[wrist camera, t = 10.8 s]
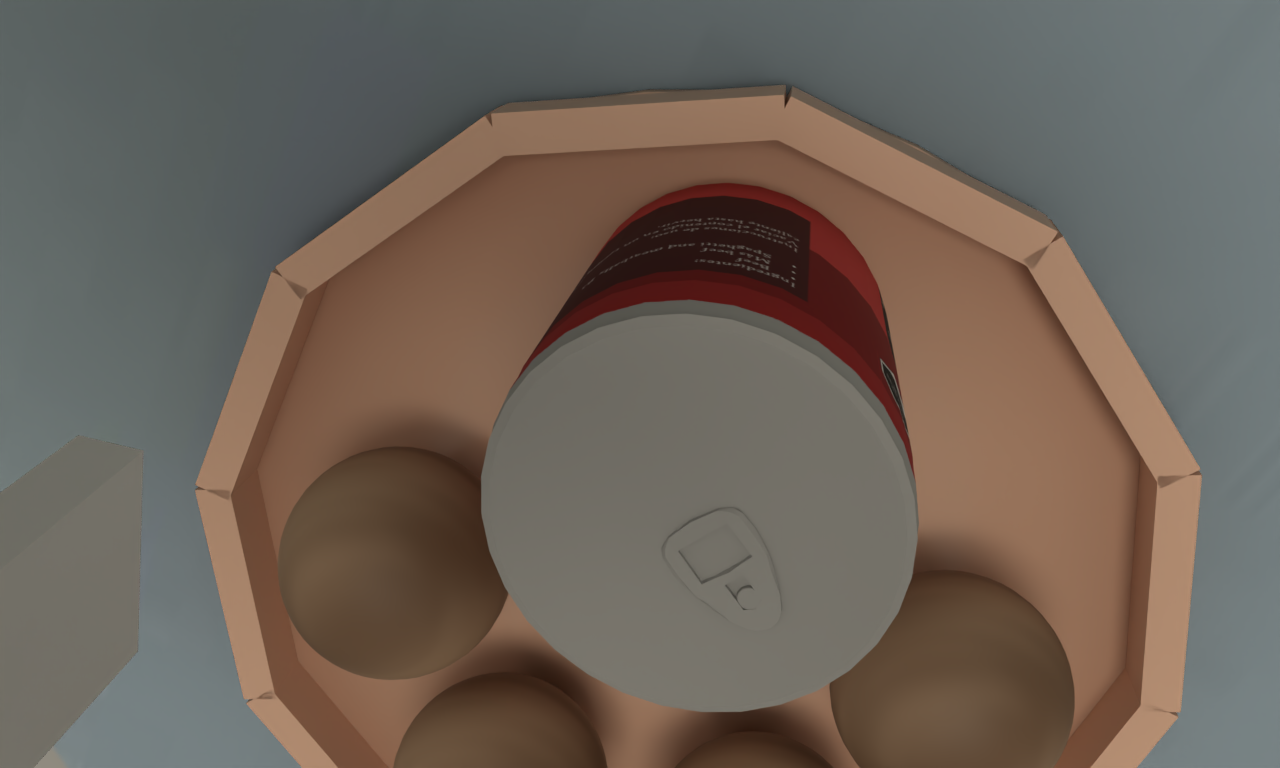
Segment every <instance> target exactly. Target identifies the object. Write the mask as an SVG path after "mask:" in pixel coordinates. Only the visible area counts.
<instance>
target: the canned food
mask: <svg viewBox="0 0 1280 768" xmlns="http://www.w3.org/2000/svg"><path fill="white" fill-rule="evenodd" d="M481 514H482V519H483V524H484V528H485V533H486V538H487V542H488V547H489V552H490V554H491V556H492V559H493V561H494V563H495V566H496V568H497V570H498V573H499V575H500V577H501V580H502V582H503V584H504V587H505V588H506V590H507V591H508V593H509V594H510V596H511V597H512V599H513V600H514V602H515V603H516V605H517V606H518V608H519V609H520V611H521V612H522V614H523V615H524V617H525V618H526V620H527V621H528V622H529V623H530V624H531V625H532V626H533V627H534V628H535V630H536V631H537V632H538V633H539V634H540V635H541V636H542V637H543V638H544V639H545V640H546V641H547V642H548V643H549V644H550V645H551V646H552V647H553V648H554V649H555V650H556V651H557V652H558V653H560V654H561V655H563V656H564V657H565V658H567V659H568V660H569V661H571V662H572V663H573V664H575V665H576V666H577V667H579V668H580V669H581V670H583V671H584V672H585V673H587V674H588V675H590V676H592V677H594V678H596V679H598V680H600V681H602V682H604V683H605V684H607V685H609V686H611V687H613V688H615V689H617V690H619V691H621V692H623V693H625V694H628V695H631V696H634V697H637V698H640V699H643V700H646V701H649V702H652V703H655V704H658V705H661V706H667V707H673V708H680V709H686V710H692V711H698V712H743V711H749V710H754V709H760V708H765V707H771V706H776V705H781V704H784V703H786V702H789V701H792V700H794V699H797V698H800V697H802V696H805V695H807V694H810V693H813V692H815V691H818V690H819V689H821V688H822V687H824V686H826V685H827V684H829V683H830V682H832V681H834V680H835V679H837V678H838V677H840V676H842V675H843V674H845V673H847V672H848V671H850V670H851V669H852V668H853V667H854V666H855V665H856V664H857V663H858V662H859V661H860V660H861V659H862V658H863V657H864V656H865V655H866V654H867V653H869V652H870V651H871V650H872V649H873V648H874V647H875V646H876V645H877V644H878V642H879V641H880V639H881V638H882V636H883V635H884V633H885V632H886V630H887V629H888V627H889V626H890V624H891V623H892V621H893V620H894V618H895V617H896V615H897V614H898V612H899V610H900V607H901V604H902V602H903V599H904V597H905V594H906V592H907V589H908V586H909V584H910V581H911V579H912V574H913V567H914V560H915V554H916V547H917V540H918V536H917V534H918V527H919V517H918V504H917V491H916V481H915V475H914V467H913V456H912V450H911V445H910V439H909V434H908V428H907V423H906V417H905V412H904V407H903V401H902V396H901V390H900V385H899V379H898V374H897V368H896V363H895V357H894V352H893V346H892V341H891V336H890V330H889V325H888V319H887V314H886V310H885V307H884V304H883V300H882V297H881V293H880V290H879V287H878V284H877V282H876V280H875V278H874V276H873V274H872V273H871V271H870V269H869V267H868V265H867V263H866V261H865V259H864V257H863V256H862V255H861V254H860V252H859V251H858V250H857V249H856V247H855V246H854V245H853V244H852V243H851V241H850V240H849V239H848V238H847V236H846V235H845V234H844V233H843V232H842V231H841V230H840V229H839V228H837V227H836V226H835V225H834V224H833V223H831V222H830V221H829V220H828V219H827V218H825V217H824V216H823V215H822V214H821V213H819V212H818V211H816V210H814V209H813V208H811V207H809V206H807V205H805V204H804V203H802V202H800V201H798V200H796V199H794V198H793V197H791V196H788V195H785V194H782V193H779V192H776V191H772V190H769V189H766V188H763V187H760V186H752V185H744V184H735V183H718V184H705V185H696V186H692V187H689V188H685V189H682V190H678V191H675V192H672V193H668V194H666V195H664V196H662V197H660V198H658V199H657V200H655V201H653V202H651V203H649V204H647V205H645V206H643V207H642V208H640V209H639V210H638V211H636V212H635V213H634V214H633V215H632V216H631V217H629V218H628V219H627V220H626V221H625V222H623V223H622V224H621V225H620V226H619V227H618V228H617V229H616V230H615V232H614V233H613V234H612V236H611V237H610V238H609V239H608V241H607V242H606V243H605V245H604V246H603V247H602V249H601V250H600V251H599V253H598V254H597V256H596V257H595V259H594V260H593V262H592V263H591V265H590V266H589V268H588V269H587V271H586V272H585V274H584V275H583V277H582V279H581V280H580V282H579V283H578V285H577V286H576V288H575V289H574V291H573V292H572V294H571V295H570V297H569V298H568V300H567V301H566V303H565V304H564V306H563V307H562V309H561V310H560V312H559V313H558V315H557V316H556V318H555V319H554V321H553V322H552V324H551V325H550V327H549V328H548V330H547V331H546V333H545V334H544V336H543V337H542V339H541V340H540V342H539V343H538V345H537V346H536V348H535V349H534V351H533V352H532V354H531V355H530V357H529V358H528V360H527V362H526V363H525V365H524V366H523V368H522V370H521V372H520V374H519V376H518V378H517V379H516V381H515V382H514V384H513V385H512V387H511V388H510V390H509V392H508V395H507V397H506V399H505V401H504V403H503V405H502V408H501V410H500V412H499V414H498V416H497V418H496V420H495V423H494V425H493V430H492V433H491V435H490V438H489V442H488V446H487V451H486V456H485V460H484V465H483V470H482V474H481Z"/></svg>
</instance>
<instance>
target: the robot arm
mask: <svg viewBox="0 0 1280 768" xmlns="http://www.w3.org/2000/svg"><path fill="white" fill-rule="evenodd" d="M142 481H143V450H138V449H134V448H130V447H126V446H122V445H117V444H113V443H109V442H105V441H100V440H96V439H92V438H88V437H84V436H79V435H78V436H77V437H75V438H74V439H73V440H71V441H70V442H68V443H67V444H66V445H64V446H63V447H62V448H60V449H59V450H58V451H56V452H55V453H54V454H52V455H51V456H49V457H48V458H47V459H45V460H44V461H43V462H41V463H40V464H39V465H37V466H36V467H35V468H33V469H32V470H30V471H29V472H28V473H26V474H25V475H24V476H22V477H21V478H20V479H18V480H17V481H16V482H14V483H13V484H11V485H10V486H9V487H7V488H6V489H5V490H3V491H2V492H1V493H0V768H34V767H35V766H36V765H37V764H38V762H39V761H40V760H41V759H42V758H43V757H44V756H45V755H46V753H47V752H48V751H49V750H50V749H51V748H52V747H53V746H54V745H55V743H56V742H57V741H58V740H59V739H60V738H61V737H62V736H63V734H64V733H65V732H66V731H67V730H68V729H69V728H70V727H71V726H72V724H73V723H74V722H75V721H76V720H77V719H78V718H79V717H80V715H81V714H82V713H83V712H84V711H85V710H86V709H87V708H88V706H89V705H90V704H91V703H92V702H93V701H94V700H95V699H96V698H97V696H98V695H99V694H100V693H101V692H102V691H103V690H104V689H105V687H106V686H107V685H108V684H109V683H110V682H111V681H112V680H113V679H114V677H115V676H116V675H117V674H118V673H119V672H120V671H121V670H122V668H123V667H124V666H125V665H126V664H127V663H128V662H129V661H130V660H131V658H132V657H133V656H134V655H135V654H136V653H137V652H138V629H139V592H140V555H141V518H142Z"/></svg>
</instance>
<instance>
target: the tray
mask: <svg viewBox="0 0 1280 768" xmlns="http://www.w3.org/2000/svg"><path fill="white" fill-rule="evenodd" d="M718 183H735V184H744V185H752V186H760V187H763V188H766V189H769V190H772V191H776V192H779V193H782V194H785V195H788V196H791V197H793V198H794V199H796V200H798V201H800V202H802V203H804V204H805V205H807V206H809V207H811V208H813V209H814V210H816V211H818V212H819V213H821V214H822V215H823V216H824V217H825V218H827V219H828V220H829V221H830V222H831V223H833V224H834V225H835V226H836V227H837V228H839V229H840V230H841V231H842V232H843V233H844V234H845V235H846V236H847V238H848V239H849V240H850V241H851V243H852V244H853V245H854V246H855V247H856V249H857V250H858V251H859V252H860V254H861V255H862V256H863V257H864V259H865V261H866V263H867V265H868V267H869V269H870V271H871V273H872V274H873V276H874V278H875V280H876V282H877V284H878V287H879V290H880V293H881V297H882V300H883V304H884V307H885V310H886V314H887V319H888V325H889V330H890V336H891V341H892V346H893V352H894V357H895V363H896V368H897V374H898V379H899V385H900V390H901V396H902V401H903V407H904V412H905V417H906V423H907V428H908V434H909V439H910V445H911V450H912V456H913V467H914V475H915V481H916V491H917V504H918V517H919V527H918V534H917V536H918V540H917V547H916V554H915V560H914V567H913V574H916V573H920V572H926V571H934V570H956V571H963V572H969V573H974V574H977V575H980V576H984V577H987V578H990V579H992V580H994V581H997V582H999V583H1002V584H1003V585H1005V586H1007V587H1009V588H1010V589H1012V590H1014V591H1015V592H1017V593H1018V594H1019V595H1020V596H1022V597H1023V598H1024V599H1026V600H1027V601H1028V602H1030V603H1031V604H1032V605H1033V606H1034V607H1035V608H1036V609H1037V610H1038V611H1039V612H1040V613H1041V614H1042V615H1043V617H1044V618H1045V619H1046V621H1047V622H1048V623H1049V625H1050V626H1051V627H1052V628H1053V630H1054V631H1055V633H1056V635H1057V637H1058V638H1059V640H1060V642H1061V644H1062V646H1063V648H1064V650H1065V653H1066V656H1067V658H1068V661H1069V664H1070V668H1071V673H1072V678H1073V683H1074V693H1075V710H1074V718H1073V724H1072V728H1071V731H1070V735H1069V738H1068V741H1067V744H1066V746H1065V748H1064V751H1063V753H1062V755H1061V757H1060V758H1059V760H1058V762H1057V763H1056V765H1055V766H1054V768H1137V766H1138V765H1139V764H1140V763H1141V762H1142V760H1143V759H1144V758H1145V757H1146V756H1147V754H1148V753H1149V752H1150V751H1151V750H1152V748H1153V747H1154V746H1155V745H1156V744H1157V742H1158V741H1159V740H1160V739H1161V737H1162V736H1163V735H1164V734H1165V733H1166V731H1167V730H1168V729H1169V728H1170V727H1171V725H1172V724H1173V723H1174V722H1175V721H1176V719H1177V718H1178V715H1177V713H1176V712H1181V701H1182V690H1183V679H1184V668H1185V657H1186V646H1187V635H1188V624H1189V613H1190V602H1191V591H1192V580H1193V569H1194V558H1195V546H1196V535H1197V524H1198V513H1199V502H1200V491H1201V480H1202V475H1201V473H1200V472H1199V470H1200V467H1199V466H1198V464H1197V462H1196V461H1195V459H1194V457H1193V456H1192V454H1191V452H1190V450H1189V449H1188V447H1187V445H1186V444H1185V442H1184V440H1183V439H1182V437H1181V435H1180V434H1179V432H1178V430H1177V428H1176V427H1175V425H1174V423H1173V422H1172V420H1171V418H1170V417H1169V415H1168V413H1167V412H1166V410H1165V408H1164V406H1163V405H1162V403H1161V401H1160V400H1159V398H1158V396H1157V395H1156V393H1155V391H1154V390H1153V388H1152V386H1151V384H1150V383H1149V381H1148V379H1147V378H1146V376H1145V374H1144V373H1143V371H1142V369H1141V368H1140V366H1139V364H1138V362H1137V361H1136V359H1135V357H1134V356H1133V354H1132V352H1131V351H1130V349H1129V347H1128V346H1127V344H1126V342H1125V340H1124V339H1123V337H1122V335H1121V334H1120V332H1119V330H1118V329H1117V327H1116V325H1115V323H1114V322H1113V320H1112V318H1111V317H1110V315H1109V313H1108V312H1107V310H1106V308H1105V307H1104V305H1103V303H1102V301H1101V300H1100V298H1099V296H1098V295H1097V293H1096V291H1095V290H1094V288H1093V286H1092V285H1091V283H1090V281H1089V279H1088V278H1087V276H1086V274H1085V273H1084V271H1083V269H1082V268H1081V266H1080V264H1079V263H1078V261H1077V259H1076V257H1075V256H1074V254H1073V252H1072V251H1071V249H1070V247H1069V246H1068V244H1067V242H1066V241H1065V239H1064V237H1063V236H1062V234H1061V233H1060V232H1059V230H1058V229H1057V228H1056V226H1055V225H1054V224H1053V222H1052V221H1051V220H1050V219H1048V218H1047V216H1046V215H1045V214H1043V213H1041V212H1039V211H1037V210H1035V209H1034V208H1032V207H1030V206H1028V205H1026V204H1024V203H1022V202H1020V201H1018V200H1016V199H1014V198H1012V197H1010V196H1008V195H1006V194H1004V193H1002V192H1000V191H998V190H996V189H994V188H992V187H990V186H988V185H986V184H984V183H982V182H980V181H978V180H976V179H974V178H972V177H971V176H969V175H967V174H965V173H964V172H962V171H960V170H959V169H957V168H955V167H954V166H952V165H950V164H949V163H947V162H945V161H944V160H942V159H940V158H939V157H937V156H935V155H934V154H932V153H930V152H929V151H927V150H925V149H924V148H922V147H920V146H919V145H917V144H914V143H912V142H910V141H907V140H905V139H903V138H900V137H898V136H896V135H893V134H891V133H889V132H886V131H884V130H882V129H879V128H877V127H875V126H872V125H870V124H868V123H865V122H863V121H860V120H858V119H856V118H854V117H852V116H850V115H849V114H847V113H845V112H843V111H841V110H839V109H837V108H835V107H833V106H831V105H829V104H827V103H825V102H823V101H821V100H819V99H817V98H815V97H813V96H811V95H809V94H807V93H805V92H803V91H801V90H799V89H797V88H795V87H793V86H792V88H791V90H790V92H789V94H788V96H787V98H786V85H774V86H758V87H743V88H728V89H713V90H695V89H648V90H641V91H633V92H626V93H618V94H611V95H604V96H596V97H589V98H575V99H560V100H545V101H529V102H514V103H507V104H506V105H504V106H503V105H501V106H500V107H498V108H496V109H495V110H493V111H492V112H490V113H488V114H487V115H485V116H484V117H482V118H481V119H480V120H478V121H477V122H475V123H474V124H473V125H471V126H470V127H468V128H467V129H466V130H464V131H463V132H461V133H460V134H459V135H457V136H456V137H455V138H453V139H452V140H450V141H449V142H448V143H446V144H445V145H443V146H442V147H441V148H439V149H438V150H437V151H435V152H434V153H432V154H431V155H430V156H428V157H427V158H425V159H424V160H423V161H421V162H420V163H419V164H417V165H416V166H414V167H413V168H412V169H410V170H409V171H407V172H406V173H405V174H403V175H402V176H401V177H399V178H398V179H396V180H395V181H394V182H392V183H391V184H389V185H388V186H387V187H385V188H384V189H382V190H381V191H380V192H378V193H377V194H376V195H374V196H373V197H371V198H370V199H369V200H367V201H366V202H364V203H363V204H362V205H360V206H359V207H358V208H356V209H355V210H353V211H352V212H351V213H349V214H348V215H346V216H345V217H344V218H342V219H341V220H340V221H338V222H337V223H335V224H334V225H333V226H331V227H330V228H328V229H327V230H326V231H324V232H323V233H322V234H320V235H319V236H317V237H316V238H315V239H313V240H312V241H310V242H309V243H308V244H306V245H305V246H303V247H302V248H301V249H299V250H298V251H297V252H295V253H294V254H292V255H291V256H290V257H288V258H287V259H285V260H284V261H283V262H281V263H280V264H279V265H277V266H276V267H275V268H276V269H275V270H273V271H272V272H271V275H270V277H269V280H268V283H267V286H266V289H265V291H264V294H263V297H262V300H261V303H260V305H259V308H258V311H257V314H256V317H255V319H254V322H253V325H252V328H251V331H250V333H249V336H248V339H247V342H246V345H245V347H244V350H243V353H242V356H241V358H240V361H239V364H238V367H237V370H236V372H235V375H234V378H233V381H232V384H231V386H230V389H229V392H228V395H227V398H226V400H225V403H224V406H223V409H222V412H221V414H220V417H219V420H218V423H217V426H216V428H215V431H214V434H213V437H212V440H211V442H210V445H209V448H208V451H207V453H206V456H205V459H204V462H203V465H202V467H201V470H200V473H199V476H198V479H197V481H196V484H195V485H197V486H199V487H198V488H197V489H196V490H195V492H196V496H197V501H198V505H199V509H200V513H201V518H202V522H203V526H204V530H205V535H206V539H207V543H208V548H209V552H210V556H211V560H212V565H213V569H214V573H215V577H216V582H217V586H218V590H219V595H220V599H221V603H222V607H223V612H224V616H225V620H226V624H227V629H228V633H229V637H230V642H231V646H232V650H233V654H234V659H235V663H236V667H237V671H238V676H239V680H240V684H241V689H242V693H243V697H244V699H249V700H248V702H247V703H246V704H247V705H248V706H249V707H250V708H251V709H252V711H253V712H254V713H255V714H256V715H257V716H258V717H259V719H260V720H261V721H262V722H263V723H264V724H265V726H266V727H267V728H268V729H269V730H270V731H271V732H272V734H273V735H274V736H275V737H276V738H277V739H278V740H279V742H280V743H281V744H282V745H283V746H284V747H285V749H286V750H287V751H288V752H289V753H290V754H291V755H292V757H293V758H294V759H295V760H296V761H297V762H298V763H299V765H300V766H301V767H302V768H393V766H394V761H395V757H396V754H397V751H398V749H399V746H400V744H401V741H402V738H403V736H404V734H405V733H406V731H407V729H408V728H409V726H410V725H411V723H412V721H413V720H414V718H415V717H416V716H417V715H418V714H419V712H420V711H421V710H422V709H423V708H424V707H425V706H426V705H427V704H428V703H429V702H430V701H431V700H432V699H433V698H434V697H436V696H437V695H438V694H440V693H441V692H443V691H444V690H446V689H447V688H449V687H450V686H452V685H454V684H456V683H458V682H461V681H463V680H465V679H468V678H471V677H474V676H478V675H482V674H488V673H502V672H509V673H519V674H525V675H529V676H533V677H536V678H539V679H541V680H544V681H546V682H548V683H550V684H552V685H554V686H556V687H557V688H559V689H560V690H562V691H563V692H565V693H566V694H567V695H568V696H569V697H571V698H572V699H573V700H574V701H575V702H576V703H577V704H578V705H579V706H580V707H581V708H582V709H583V711H584V712H585V713H586V714H587V716H588V717H589V719H590V720H591V722H592V724H593V725H594V727H595V729H596V731H597V733H598V735H599V737H600V740H601V743H602V746H603V749H604V753H605V756H606V762H607V767H608V768H675V767H676V765H677V764H678V763H679V762H680V761H681V760H682V759H683V758H684V757H686V756H687V755H688V754H690V753H691V752H692V751H694V750H695V749H696V748H698V747H699V746H701V745H703V744H704V743H706V742H708V741H710V740H713V739H715V738H718V737H721V736H724V735H728V734H732V733H737V732H745V731H760V732H769V733H774V734H779V735H782V736H786V737H789V738H791V739H793V740H796V741H798V742H800V743H802V744H804V745H805V746H807V747H809V748H811V749H812V750H814V751H815V752H817V753H818V754H819V755H821V756H822V757H823V758H824V759H825V760H826V761H827V762H828V763H830V764H831V766H832V767H833V768H860V767H859V766H858V765H857V763H856V762H855V761H854V759H853V758H852V756H851V754H850V753H849V751H848V750H847V748H846V746H845V745H844V743H843V741H842V738H841V736H840V734H839V732H838V729H837V726H836V723H835V720H834V716H833V712H832V707H831V698H830V689H829V686H830V683H829V684H827V685H826V686H824V687H822V688H821V689H819V690H818V691H815V692H813V693H810V694H807V695H805V696H802V697H800V698H797V699H794V700H792V701H789V702H786V703H784V704H781V705H776V706H771V707H765V708H760V709H754V710H749V711H743V712H698V711H692V710H686V709H680V708H673V707H667V706H661V705H658V704H655V703H652V702H649V701H646V700H643V699H640V698H637V697H634V696H631V695H628V694H625V693H623V692H621V691H619V690H617V689H615V688H613V687H611V686H609V685H607V684H605V683H604V682H602V681H600V680H598V679H596V678H594V677H592V676H590V675H588V674H587V673H585V672H584V671H583V670H581V669H580V668H579V667H577V666H576V665H575V664H573V663H572V662H571V661H569V660H568V659H567V658H565V657H564V656H563V655H561V654H560V653H558V652H557V651H556V650H555V649H554V648H553V647H552V646H551V645H550V644H549V643H548V642H547V641H546V640H545V639H544V638H543V637H542V636H541V635H540V634H539V633H538V632H537V631H536V630H535V628H534V627H533V626H532V625H531V624H530V623H529V622H528V621H527V620H526V618H525V617H524V615H523V614H522V612H521V611H520V609H519V608H518V606H517V605H516V603H515V602H514V600H513V599H512V597H511V596H510V594H509V593H508V596H507V599H506V602H505V604H504V607H503V609H502V611H501V613H500V615H499V617H498V618H497V620H496V622H495V623H494V625H493V626H492V628H491V630H490V631H489V632H488V633H487V635H486V636H485V637H484V638H483V639H482V640H481V641H480V643H479V644H478V645H477V646H476V647H475V648H473V649H472V650H471V651H470V652H469V653H468V654H466V655H465V656H463V657H462V658H460V659H459V660H457V661H456V662H454V663H453V664H451V665H450V666H448V667H445V668H443V669H441V670H439V671H436V672H434V673H431V674H428V675H424V676H421V677H417V678H411V679H400V680H381V679H373V678H368V677H363V676H360V675H356V674H353V673H351V672H348V671H346V670H344V669H341V668H340V667H338V666H336V665H334V664H332V663H331V662H329V661H328V660H326V659H325V658H323V657H322V656H321V655H319V654H318V653H317V652H316V651H315V650H314V649H312V648H311V647H310V646H309V644H308V643H307V642H306V641H305V640H304V639H303V638H302V636H301V635H300V634H299V632H298V631H297V630H296V628H295V626H294V625H293V623H292V621H291V619H290V617H289V615H288V613H287V610H286V608H285V606H284V603H283V600H282V596H281V593H280V587H279V580H278V554H279V547H280V541H281V537H282V533H283V530H284V527H285V525H286V522H287V520H288V517H289V515H290V513H291V511H292V509H293V507H294V506H295V504H296V503H297V502H298V500H299V499H300V497H301V496H302V494H303V493H304V492H305V490H306V489H307V488H308V487H309V486H310V485H311V484H312V483H313V482H314V481H315V480H316V479H317V478H318V477H319V476H320V475H321V474H323V473H324V472H325V471H327V470H328V469H329V468H331V467H332V466H334V465H336V464H337V463H339V462H341V461H343V460H345V459H347V458H349V457H350V456H353V455H356V454H358V453H361V452H364V451H369V450H373V449H378V448H382V447H394V446H399V447H414V448H420V449H426V450H429V451H433V452H436V453H439V454H442V455H444V456H446V457H449V458H451V459H453V460H454V461H456V462H458V463H460V464H462V465H463V466H464V467H466V468H467V469H468V470H470V471H471V472H472V473H474V474H475V475H476V476H477V477H478V478H479V479H480V480H481V474H482V470H483V465H484V460H485V456H486V451H487V446H488V442H489V438H490V435H491V433H492V430H493V425H494V423H495V420H496V418H497V416H498V414H499V412H500V410H501V408H502V405H503V403H504V401H505V399H506V397H507V395H508V392H509V390H510V388H511V387H512V385H513V384H514V382H515V381H516V379H517V378H518V376H519V374H520V372H521V370H522V368H523V366H524V365H525V363H526V362H527V360H528V358H529V357H530V355H531V354H532V352H533V351H534V349H535V348H536V346H537V345H538V343H539V342H540V340H541V339H542V337H543V336H544V334H545V333H546V331H547V330H548V328H549V327H550V325H551V324H552V322H553V321H554V319H555V318H556V316H557V315H558V313H559V312H560V310H561V309H562V307H563V306H564V304H565V303H566V301H567V300H568V298H569V297H570V295H571V294H572V292H573V291H574V289H575V288H576V286H577V285H578V283H579V282H580V280H581V279H582V277H583V275H584V274H585V272H586V271H587V269H588V268H589V266H590V265H591V263H592V262H593V260H594V259H595V257H596V256H597V254H598V253H599V251H600V250H601V249H602V247H603V246H604V245H605V243H606V242H607V241H608V239H609V238H610V237H611V236H612V234H613V233H614V232H615V230H616V229H617V228H618V227H619V226H620V225H621V224H622V223H623V222H625V221H626V220H627V219H628V218H629V217H631V216H632V215H633V214H634V213H635V212H636V211H638V210H639V209H640V208H642V207H643V206H645V205H647V204H649V203H651V202H653V201H655V200H657V199H658V198H660V197H662V196H664V195H666V194H668V193H672V192H675V191H678V190H682V189H685V188H689V187H692V186H696V185H705V184H718Z"/></svg>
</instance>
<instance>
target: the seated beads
mask: <svg viewBox="0 0 1280 768" xmlns="http://www.w3.org/2000/svg"><path fill="white" fill-rule="evenodd" d="M278 580H279V587H280V593H281V596H282V600H283V603H284V606H285V608H286V610H287V613H288V615H289V617H290V619H291V621H292V623H293V625H294V626H295V628H296V630H297V631H298V632H299V634H300V635H301V636H302V638H303V639H304V640H305V641H306V642H307V643H308V644H309V646H310V647H311V648H312V649H314V650H315V651H316V652H317V653H318V654H319V655H321V656H322V657H323V658H325V659H326V660H328V661H329V662H331V663H332V664H334V665H336V666H338V667H340V668H341V669H344V670H346V671H348V672H351V673H353V674H356V675H360V676H363V677H368V678H373V679H381V680H400V679H411V678H417V677H421V676H424V675H428V674H431V673H434V672H436V671H439V670H441V669H443V668H445V667H448V666H450V665H451V664H453V663H454V662H456V661H457V660H459V659H460V658H462V657H463V656H465V655H466V654H468V653H469V652H470V651H471V650H472V649H473V648H475V647H476V646H477V645H478V644H479V643H480V641H481V640H482V639H483V638H484V637H485V636H486V635H487V633H488V632H489V631H490V630H491V628H492V626H493V625H494V623H495V622H496V620H497V618H498V617H499V615H500V613H501V611H502V609H503V607H504V604H505V602H506V599H507V596H508V591H507V590H506V588H505V587H504V584H503V582H502V580H501V577H500V575H499V573H498V570H497V568H496V566H495V563H494V561H493V559H492V556H491V554H490V552H489V547H488V542H487V538H486V533H485V528H484V524H483V519H482V514H481V480H480V479H479V478H478V477H477V476H476V475H475V474H474V473H472V472H471V471H470V470H468V469H467V468H466V467H464V466H463V465H462V464H460V463H458V462H456V461H454V460H453V459H451V458H449V457H446V456H444V455H442V454H439V453H436V452H433V451H429V450H426V449H420V448H414V447H399V446H394V447H382V448H378V449H373V450H369V451H364V452H361V453H358V454H356V455H353V456H350V457H349V458H347V459H345V460H343V461H341V462H339V463H337V464H336V465H334V466H332V467H331V468H329V469H328V470H327V471H325V472H324V473H323V474H321V475H320V476H319V477H318V478H317V479H316V480H315V481H314V482H313V483H312V484H311V485H310V486H309V487H308V488H307V489H306V490H305V492H304V493H303V494H302V496H301V497H300V499H299V500H298V502H297V503H296V504H295V506H294V507H293V509H292V511H291V513H290V515H289V517H288V520H287V522H286V525H285V527H284V530H283V533H282V537H281V541H280V547H279V554H278ZM829 689H830V698H831V707H832V712H833V716H834V720H835V723H836V726H837V729H838V732H839V734H840V736H841V738H842V741H843V743H844V745H845V746H846V748H847V750H848V751H849V753H850V754H851V756H852V758H853V759H854V761H855V762H856V763H857V765H858V766H859V767H860V768H1054V766H1055V765H1056V763H1057V762H1058V760H1059V758H1060V757H1061V755H1062V753H1063V751H1064V748H1065V746H1066V744H1067V741H1068V738H1069V735H1070V731H1071V728H1072V724H1073V718H1074V710H1075V693H1074V683H1073V678H1072V673H1071V668H1070V664H1069V661H1068V658H1067V656H1066V653H1065V650H1064V648H1063V646H1062V644H1061V642H1060V640H1059V638H1058V637H1057V635H1056V633H1055V631H1054V630H1053V628H1052V627H1051V626H1050V625H1049V623H1048V622H1047V621H1046V619H1045V618H1044V617H1043V615H1042V614H1041V613H1040V612H1039V611H1038V610H1037V609H1036V608H1035V607H1034V606H1033V605H1032V604H1031V603H1030V602H1028V601H1027V600H1026V599H1024V598H1023V597H1022V596H1020V595H1019V594H1018V593H1017V592H1015V591H1014V590H1012V589H1010V588H1009V587H1007V586H1005V585H1003V584H1002V583H999V582H997V581H994V580H992V579H990V578H987V577H984V576H980V575H977V574H974V573H969V572H963V571H956V570H934V571H926V572H920V573H916V574H912V579H911V581H910V584H909V586H908V589H907V592H906V594H905V597H904V599H903V602H902V604H901V607H900V610H899V612H898V614H897V615H896V617H895V618H894V620H893V621H892V623H891V624H890V626H889V627H888V629H887V630H886V632H885V633H884V635H883V636H882V638H881V639H880V641H879V642H878V644H877V645H876V646H875V647H874V648H873V649H872V650H871V651H870V652H869V653H867V654H866V655H865V656H864V657H863V658H862V659H861V660H860V661H859V662H858V663H857V664H856V665H855V666H854V667H853V668H852V669H851V670H850V671H848V672H847V673H845V674H843V675H842V676H840V677H838V678H837V679H835V680H834V681H832V682H830V686H829ZM393 768H608V767H607V762H606V756H605V753H604V749H603V746H602V743H601V740H600V737H599V735H598V733H597V731H596V729H595V727H594V725H593V724H592V722H591V720H590V719H589V717H588V716H587V714H586V713H585V712H584V711H583V709H582V708H581V707H580V706H579V705H578V704H577V703H576V702H575V701H574V700H573V699H572V698H571V697H569V696H568V695H567V694H566V693H565V692H563V691H562V690H560V689H559V688H557V687H556V686H554V685H552V684H550V683H548V682H546V681H544V680H541V679H539V678H536V677H533V676H529V675H525V674H519V673H509V672H502V673H488V674H482V675H478V676H474V677H471V678H468V679H465V680H463V681H461V682H458V683H456V684H454V685H452V686H450V687H449V688H447V689H446V690H444V691H443V692H441V693H440V694H438V695H437V696H436V697H434V698H433V699H432V700H431V701H430V702H429V703H428V704H427V705H426V706H425V707H424V708H423V709H422V710H421V711H420V712H419V714H418V715H417V716H416V717H415V718H414V720H413V721H412V723H411V725H410V726H409V728H408V729H407V731H406V733H405V734H404V736H403V738H402V741H401V744H400V746H399V749H398V751H397V754H396V757H395V761H394V766H393ZM675 768H833V767H832V766H831V764H830V763H828V762H827V761H826V760H825V759H824V758H823V757H822V756H821V755H819V754H818V753H817V752H815V751H814V750H812V749H811V748H809V747H807V746H805V745H804V744H802V743H800V742H798V741H796V740H793V739H791V738H789V737H786V736H782V735H779V734H774V733H769V732H760V731H745V732H737V733H732V734H728V735H724V736H721V737H718V738H715V739H713V740H710V741H708V742H706V743H704V744H703V745H701V746H699V747H698V748H696V749H695V750H694V751H692V752H691V753H690V754H688V755H687V756H686V757H684V758H683V759H682V760H681V761H680V762H679V763H678V764H677V765H676V767H675Z"/></svg>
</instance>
